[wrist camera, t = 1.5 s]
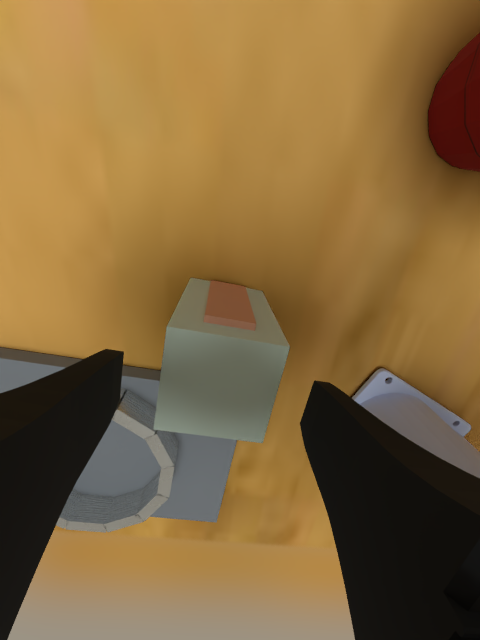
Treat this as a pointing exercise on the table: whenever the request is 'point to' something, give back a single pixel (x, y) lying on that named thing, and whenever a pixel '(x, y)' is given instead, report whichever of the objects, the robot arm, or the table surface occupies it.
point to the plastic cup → (458, 110)
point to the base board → (137, 446)
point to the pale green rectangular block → (220, 363)
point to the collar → (133, 505)
